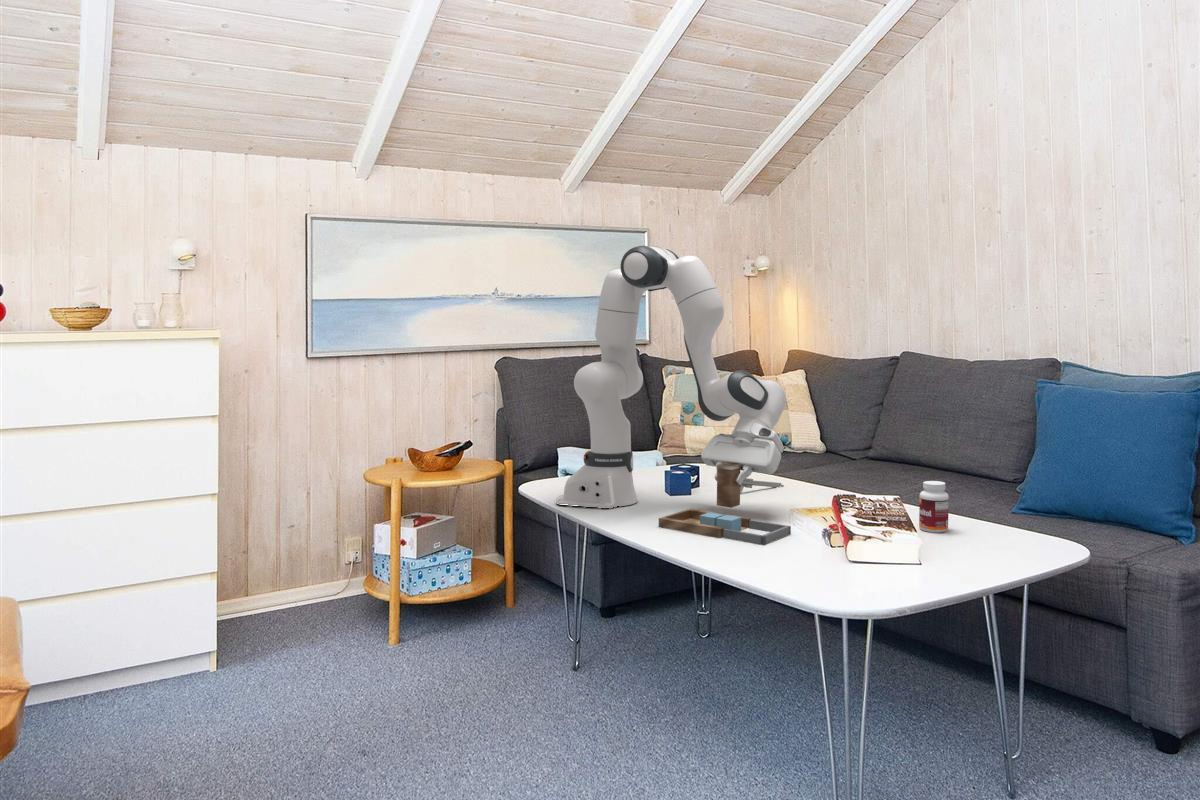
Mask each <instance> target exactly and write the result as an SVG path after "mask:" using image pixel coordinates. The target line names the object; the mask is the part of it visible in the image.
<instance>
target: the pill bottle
mask: <svg viewBox="0 0 1200 800" xmlns="http://www.w3.org/2000/svg"><path fill="white" fill-rule="evenodd" d="M922 488H923V490H922V491H920V493H919V505H918V506H919V507H918V508H919V510H918V511H919V512H918V518H919V520H918V526H919V529H920V530H921V531H924V532H927V533H932V532H933V534H937V533H938V534H940V533H941V532H942V533H946V532H947V531H948V530H949V514H950V513H949V510H950V509H949V507H950V506H949V503H950V502H949V500H950V497H949V494H948V492H946V491H945V490H946V482H945V481H939V480H927V481H923V484H922Z"/></svg>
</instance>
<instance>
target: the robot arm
mask: <svg viewBox="0 0 1200 800" xmlns="http://www.w3.org/2000/svg"><path fill="white" fill-rule="evenodd" d="M665 289H668V291H670V293H671V294H672V297H673V299H674V301H675V304H676V306H677V309H678V310H679V315H680V317H681V321H682V326H683V340H684V345H685V349H686V353H687V356H688V359H689V362H690V366H691V367H690V368H691V370H692V373H693V376H694V380H695V383H696V388H697V389H696V390H697V401H698V406H699V408H700V410H701V412H702V413H703V414H704V415H705V416H706V417H707V418H708V419H710V420H712V421H714V422H722V421H726V420H728V419H729V418H730V417H732V416H733V415H735V414H737V415H738V417H739V418H738V420H737V423H736V424H735V426H734V427H733V428H734V429H733V430H732V432H731V434H730V433H728V434H727V433H726V434H725V433H719V434H717V435H714V436H713V437H712V438H711V439H710V440H709V442H708V443H707V444H706V446H705V447H704V449H703V450H702V451H701V454H700V458H701V460H702V461H703V463H704V464H705V466H709V467H715V470H716V471H717V464H721V463H726V462H727V463H735V464H741V468H740V474H739V475H735V478H734V479H733V481H734V482H735V484H739V485H741V484H742V482H743V480H744V479H746V478H748V477H750V476H751V475H752V473H757V474H765V475H772V474H774V473H776V471H777V469H778V467H779V464H780V463H781V462H780V461H781V459H782V453H783V452H784V450H785V447H784V445H783V442H782V440H781V439H780V437H779V436H778V434H777V433H776V431H775V430H773V429H774V427H775V426H776V425H777V424H778V422H779V420H780V418H781V415H782V413H783V411H784V408H785V407H786V406H785V405H786V400H787V398H786V397H787V396H786V395H787V394H786V392H785V389H784V388H783V387H782V386H781V385H780V384H779V383H778V382H777V381H774V380H772V379H771V380H770V379H760V378H758V377H757V376H754V375H753V374H752V373H750V372H749V371H747V370H743V369H739V370H735V371H732V372H731V373H728V374H726V375H725V376H723V377H722V378H720V376H719V373H718V369H717V366H716V362H715V360H714V356H713V352H712V341H713V338H714V336H715V334H716V331H717V329H718V328H719V326H720V325H721V323H722V321H723V318H724V314H725V307H724V302H723V299H722V296H721V294H720V291H719V289H718V287H717V285H716V283H715V280H714V278H713V277H712V275H711V273H710V271H709V269H708V268H707V267H706V265H705V263H704V262H703V261H702V260H701V259H700V258H699V256H695V255H683V256H680V257H679V256H678V255H677V254H676V253H675V252H674V251H672V250H670V249H667V248H663V247H661V246H656V245H652V246H651V245H650V246H648V245H638V246H634V247H632V248H630V249H628V250H627V251H626V252H625V253H624V254H623V256H622V258H621V261H620V268H616V269H613V270H610V271H609V272H608V273H607V274H606V275H605V277H604V280H603V284H602V287H601V291H600V296H599V300H598V307H597V315H596V317H597V318H596V323H595V325H596V326H595V332H594V336H595V339H596V341H597V343H598V345H599V349H600V354H601V357H600V358H601V360H600V361H594V362H590V363H588V364H586V365H584V366H582V367H580V368H579V369H578V370H577V371H576V374H575V376H574V379H573V386H574V390H575V393H576V395H577V396H578V397H579V398H580V399H581V401H582V402H583V404H584V407H585V410H586V414H587V418H588V421H589V422H588V423H589V430H590V431H589V432H590V433H589V435H590V449H589V450H587V451H585V453H584V455H583V463H584V465H583V466H581V467H580V468H579V469H578V470H576V471H575V472H574V473H573V474H571V475H570V476H569V477H568V478H567V480H566V481H565V485H564V489H563V494H560V495H559V496H558V497H557V498H556V501H555V503H556V502H557V503H558V504H568V505H578V506H587V507H598V508H597V509H601V508H609V509H613V507H614V508H618V507H617V506H619V507H623V506H624V507H625V506H630V505H634V504H636V503H637V502H638V501H639V500H638V497H637V493H636V490H635V484H634V477H633V471H634V456H633V453H634V452H633V450H632V446H631V444H632V441H631V438H632V435H631V430H632V429H631V422H630V420H629V419H628V417H627V416H626V414H625V412H624V409H623V405H622V400H626V399H629V398H630V397H632V396H633V395H635V394H637V393H638V392H639V391H640V390H641V388H642V387H643V384H644V375H643V372H642V370H641V368H640V367H639V364H638V357H637V348H636V347H637V346H636V345H637V340H636V338H637V329H638V323H639V322H638V321H639V313H640V307H641V306H640V305H641V300H642V297H643V295H644V294H645V293H646V292H647V291H648V292H654V291H660V290H665ZM713 478H714V479H715V481H716V482H717V472H716V473H715V474H714V477H713Z"/></svg>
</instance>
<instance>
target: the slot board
mask: <svg viewBox="0 0 1200 800" xmlns="http://www.w3.org/2000/svg"><path fill="white" fill-rule="evenodd" d="M709 512H710V513H716V514H723V515H724V516H725V515H729V516H735V517H741V531H745V530H746V529H750V528H749V520H752V517H746V516H740V515H734V514H727V513H719V512H715V511H709V510H708V511H707V510H702V509H696V508H688V509H685V510H682V511H678V512H675V513H672V514H668V515H665V516H662V517H659V518H658V527H659V528H661V529H662V528H664V529H668V530H673V531H679V532H682V533H683V532H685V533H689V534H695V535H701V536H706V537H712V538H716V539H722V538H723V529H724V528H723V527H717V526H711V525H705V524H700V515H703V514H706V513H709Z"/></svg>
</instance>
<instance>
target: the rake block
mask: <svg viewBox="0 0 1200 800" xmlns="http://www.w3.org/2000/svg"><path fill="white" fill-rule="evenodd" d="M740 468H741V464H735V463H727V462H726V463H721V464H717V470H716V473H717V481H716V506H719V507H724V508H730V509H732V508H735V507H738V506H740V505H741V494H740V485H739V484H735V482H734V481H733V479H734V478H735V475H739V474H740V473H741V470H740Z"/></svg>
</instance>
